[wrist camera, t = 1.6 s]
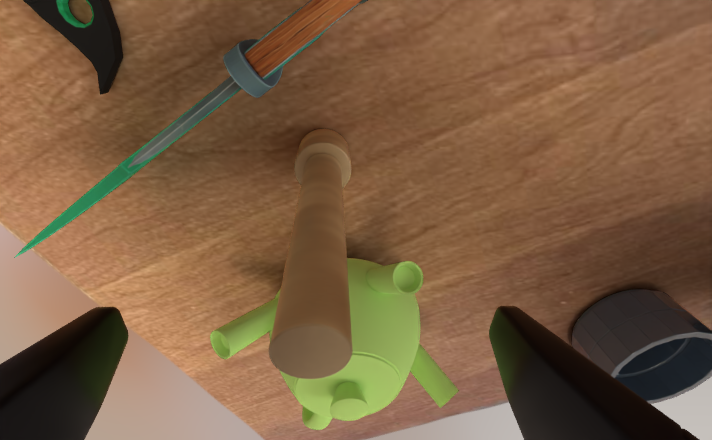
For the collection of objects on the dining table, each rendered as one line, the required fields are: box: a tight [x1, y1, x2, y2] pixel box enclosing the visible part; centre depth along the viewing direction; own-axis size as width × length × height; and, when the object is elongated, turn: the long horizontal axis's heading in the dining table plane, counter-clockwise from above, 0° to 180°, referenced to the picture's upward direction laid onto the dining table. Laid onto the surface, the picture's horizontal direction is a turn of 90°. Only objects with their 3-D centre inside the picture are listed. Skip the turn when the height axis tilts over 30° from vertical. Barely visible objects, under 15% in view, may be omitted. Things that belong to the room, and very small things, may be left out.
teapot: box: [210, 258, 459, 430], centre depth 20 cm, size 11×12×8 cm
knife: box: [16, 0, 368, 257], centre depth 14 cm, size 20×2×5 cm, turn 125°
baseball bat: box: [269, 129, 353, 379], centre depth 13 cm, size 3×3×13 cm
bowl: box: [572, 289, 712, 404], centre depth 25 cm, size 8×8×4 cm
